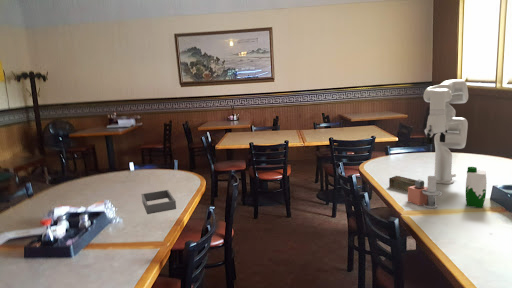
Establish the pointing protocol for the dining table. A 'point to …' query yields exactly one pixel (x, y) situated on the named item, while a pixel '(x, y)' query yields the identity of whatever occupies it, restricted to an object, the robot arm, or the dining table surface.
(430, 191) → the silver flanged rod
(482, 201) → the milk carton
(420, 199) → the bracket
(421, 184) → the gray square bar
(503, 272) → the dining table surface
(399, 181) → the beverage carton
